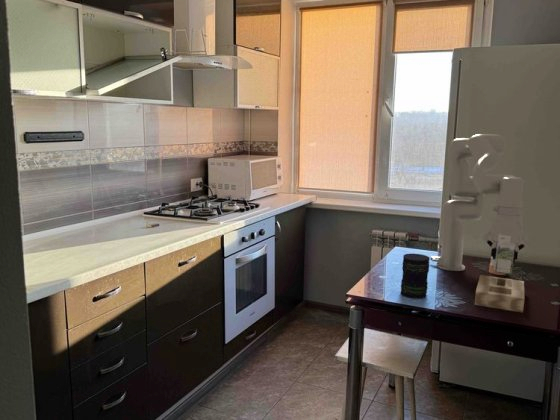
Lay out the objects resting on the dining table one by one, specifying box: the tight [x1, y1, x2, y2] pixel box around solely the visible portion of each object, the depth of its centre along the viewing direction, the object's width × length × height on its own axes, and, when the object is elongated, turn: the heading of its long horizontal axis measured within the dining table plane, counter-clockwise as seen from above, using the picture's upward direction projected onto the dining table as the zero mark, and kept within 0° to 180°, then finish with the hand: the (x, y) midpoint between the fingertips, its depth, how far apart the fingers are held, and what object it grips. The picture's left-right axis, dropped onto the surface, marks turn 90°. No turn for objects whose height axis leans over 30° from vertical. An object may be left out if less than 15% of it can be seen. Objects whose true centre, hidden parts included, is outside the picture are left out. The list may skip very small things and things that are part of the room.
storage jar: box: [400, 253, 431, 300], centre depth 192 cm, size 10×10×15 cm
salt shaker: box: [488, 256, 506, 276], centre depth 226 cm, size 7×7×19 cm
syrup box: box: [494, 234, 515, 275], centre depth 183 cm, size 6×6×14 cm
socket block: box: [474, 274, 525, 314], centre depth 191 cm, size 16×24×5 cm, turn 155°
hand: (503, 259), depth 184 cm, fingers closed on syrup box, 6 cm apart
